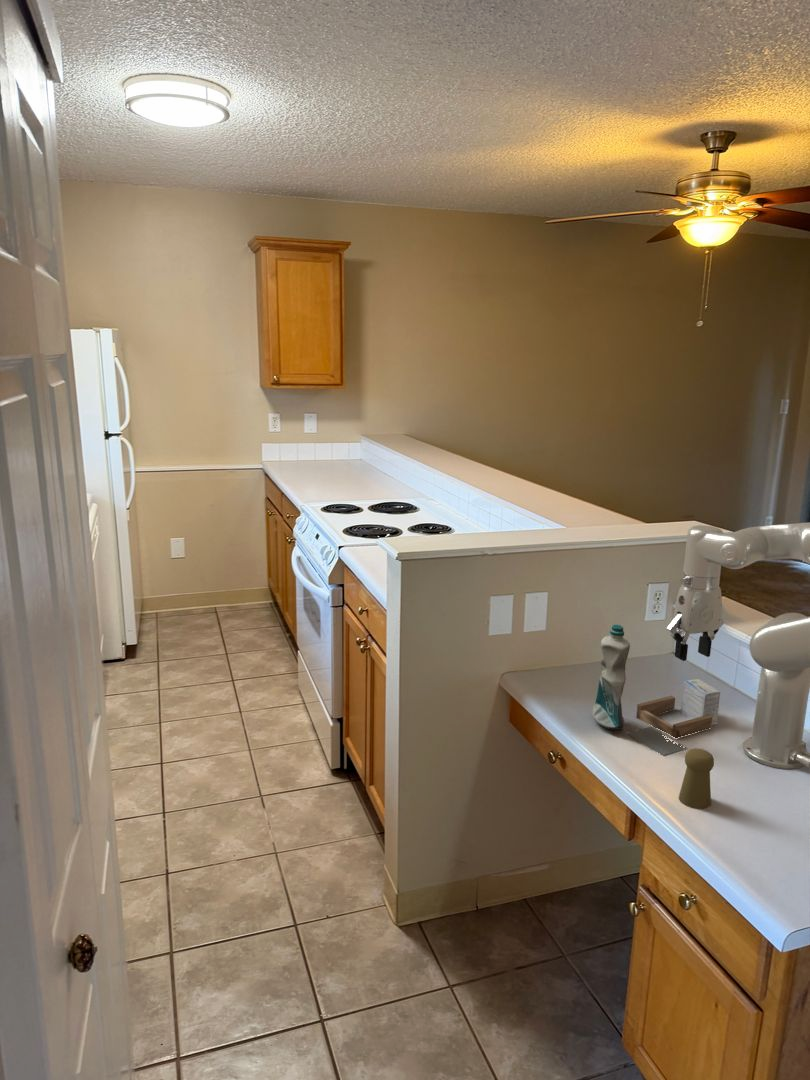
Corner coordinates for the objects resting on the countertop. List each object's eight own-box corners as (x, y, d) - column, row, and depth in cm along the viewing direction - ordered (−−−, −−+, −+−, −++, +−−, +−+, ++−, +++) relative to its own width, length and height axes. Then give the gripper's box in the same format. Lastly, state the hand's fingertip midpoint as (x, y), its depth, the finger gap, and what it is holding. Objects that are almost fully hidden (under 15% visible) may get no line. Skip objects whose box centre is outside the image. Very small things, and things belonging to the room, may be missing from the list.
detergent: (584, 714, 182) (591, 615, 176) (613, 713, 183) (621, 615, 177) (603, 740, 169) (611, 636, 163) (634, 739, 170) (643, 635, 164)
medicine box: (717, 725, 177) (721, 691, 175) (701, 728, 175) (705, 694, 173) (695, 711, 184) (698, 678, 182) (679, 713, 183) (683, 680, 181)
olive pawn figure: (694, 815, 142) (700, 763, 139) (671, 798, 147) (676, 747, 144) (718, 808, 144) (724, 756, 141) (694, 792, 149) (700, 741, 147)
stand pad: (687, 750, 165) (687, 748, 165) (663, 757, 162) (663, 755, 162) (650, 728, 175) (650, 726, 175) (627, 735, 172) (627, 732, 172)
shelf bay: (710, 730, 174) (712, 716, 173) (675, 740, 169) (677, 726, 169) (670, 708, 185) (671, 695, 184) (636, 717, 180) (637, 704, 179)
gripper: (681, 589, 161) (673, 668, 166) (743, 582, 168) (733, 657, 172) (657, 580, 168) (650, 655, 172) (717, 573, 174) (709, 646, 179)
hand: (692, 656), depth 172 cm, fingers open, 6 cm apart
